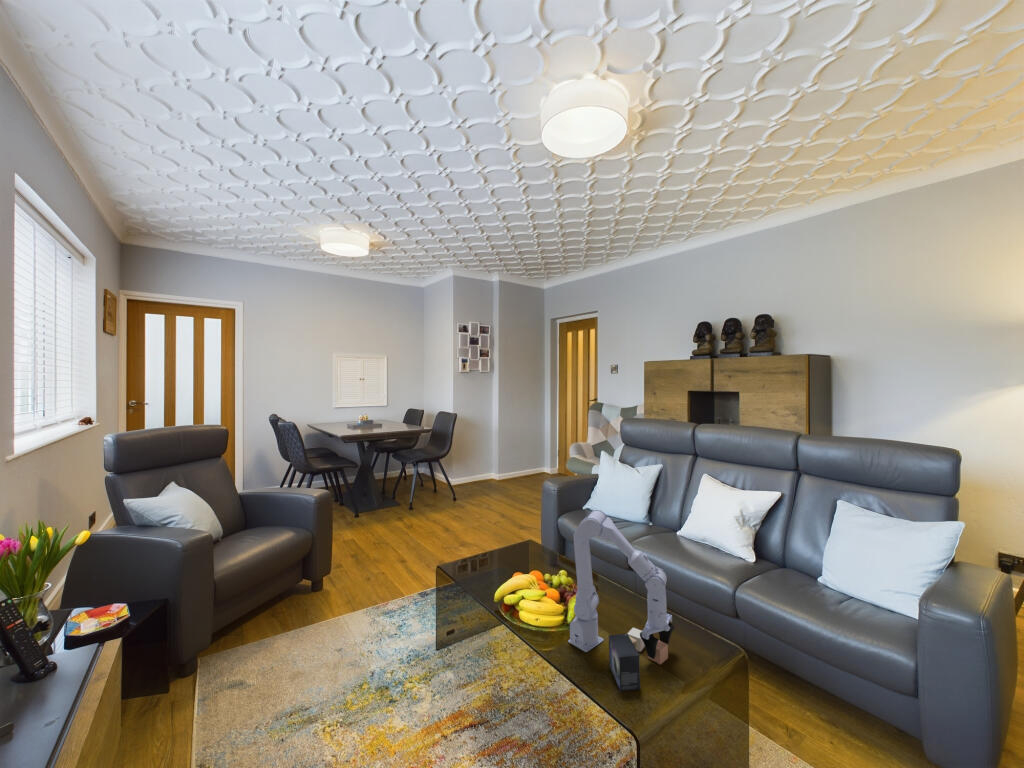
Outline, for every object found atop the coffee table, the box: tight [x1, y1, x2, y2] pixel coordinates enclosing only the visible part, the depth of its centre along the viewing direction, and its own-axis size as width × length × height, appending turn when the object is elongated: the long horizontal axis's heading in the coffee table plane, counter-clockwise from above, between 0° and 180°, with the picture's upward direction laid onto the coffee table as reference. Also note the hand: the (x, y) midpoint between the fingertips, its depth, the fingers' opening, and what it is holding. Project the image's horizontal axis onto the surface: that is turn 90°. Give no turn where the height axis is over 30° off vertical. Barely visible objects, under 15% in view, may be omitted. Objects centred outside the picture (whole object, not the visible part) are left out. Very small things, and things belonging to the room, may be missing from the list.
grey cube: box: [626, 627, 646, 653], centre depth 148 cm, size 4×4×4 cm
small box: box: [608, 633, 642, 692], centre depth 133 cm, size 11×6×10 cm, turn 5°
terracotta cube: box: [647, 639, 669, 665], centre depth 142 cm, size 4×4×4 cm
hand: (657, 651), depth 142 cm, fingers open, 7 cm apart
